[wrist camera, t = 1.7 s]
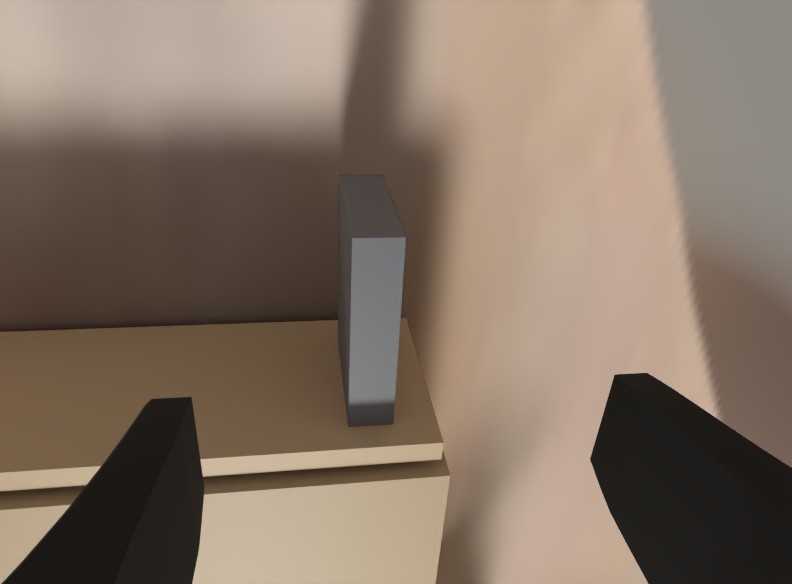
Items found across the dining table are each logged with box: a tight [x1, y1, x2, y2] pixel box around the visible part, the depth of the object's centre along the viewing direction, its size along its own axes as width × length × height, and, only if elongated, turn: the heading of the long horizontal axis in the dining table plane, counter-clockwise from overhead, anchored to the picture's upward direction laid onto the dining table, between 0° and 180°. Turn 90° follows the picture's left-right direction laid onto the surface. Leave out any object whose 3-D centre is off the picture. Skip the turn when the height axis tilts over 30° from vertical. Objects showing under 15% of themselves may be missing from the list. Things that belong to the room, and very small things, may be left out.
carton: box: [0, 451, 450, 584], centre depth 20 cm, size 16×10×7 cm, turn 87°
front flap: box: [0, 175, 443, 491], centre depth 16 cm, size 16×6×6 cm, turn 87°
